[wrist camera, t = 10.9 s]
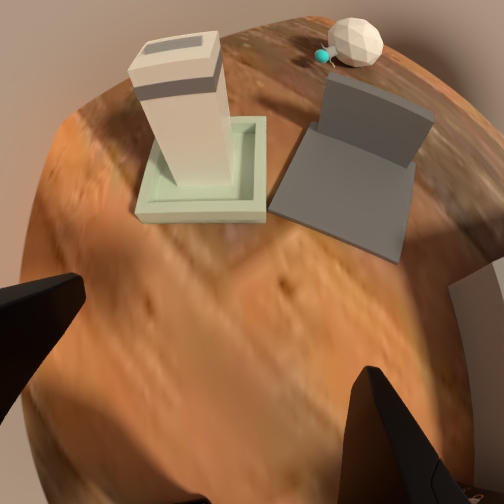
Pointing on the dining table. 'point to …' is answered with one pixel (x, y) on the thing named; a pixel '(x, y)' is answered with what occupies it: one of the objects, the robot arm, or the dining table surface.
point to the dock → (356, 167)
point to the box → (484, 366)
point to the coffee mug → (481, 495)
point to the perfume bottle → (352, 43)
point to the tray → (210, 196)
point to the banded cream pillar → (187, 106)
